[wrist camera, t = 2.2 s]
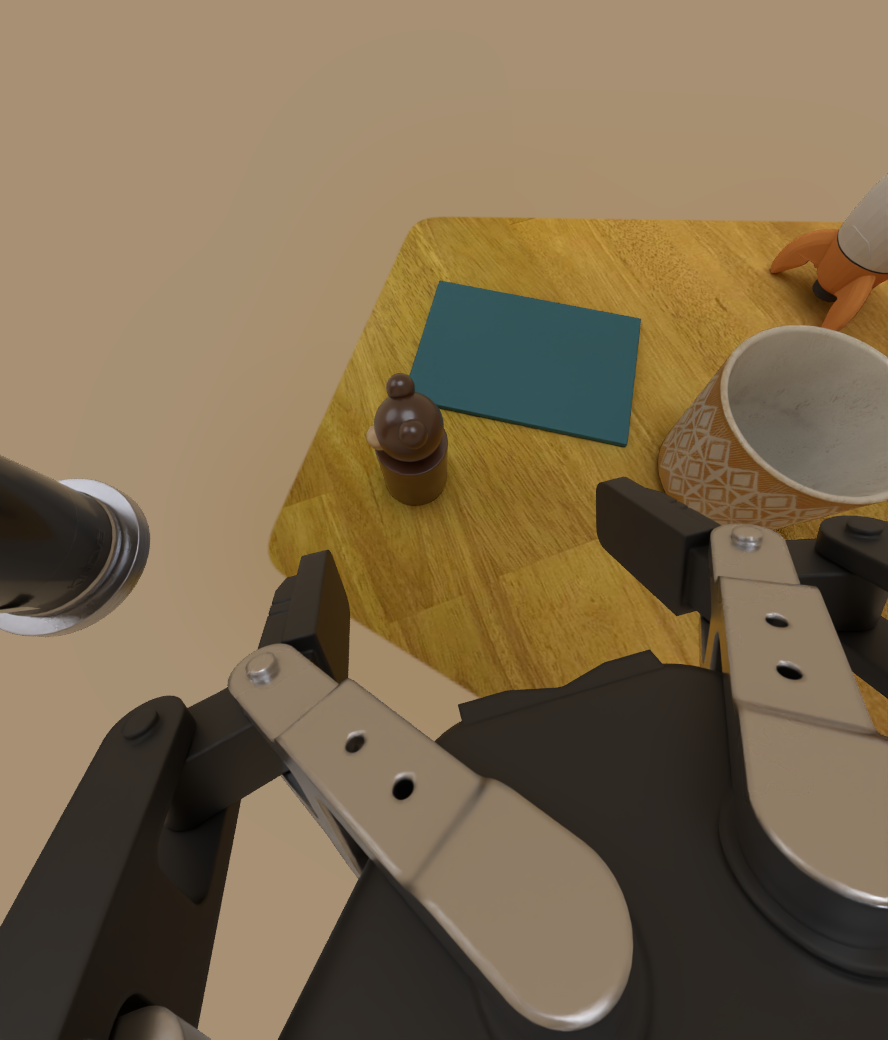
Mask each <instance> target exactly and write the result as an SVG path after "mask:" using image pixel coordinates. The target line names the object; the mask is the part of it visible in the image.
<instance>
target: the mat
mask: <svg viewBox="0 0 888 1040" xmlns="http://www.w3.org/2000/svg"><path fill="white" fill-rule="evenodd" d="M640 323H641V319H639V318H634V317H629V316H624V315H618V314H613V313H608V312H602V311H597V310H592V309H587V308H581V307H576V306H571V305H566V304H560V303H555V302H550V301H544V300H539V299H534V298H529V297H523V296H518V295H513V294H507V293H502V292H497V291H492V290H486V289H481V288H476V287H471V286H465V285H460V284H455V283H449V282H444V281H439V284H438V287H437V290H436V294H435V297H434V300H433V303H432V306H431V310H430V313H429V316H428V319H427V322H426V325H425V329H424V332H423V335H422V338H421V341H420V345H419V348H418V351H417V354H416V357H415V360H414V364H413V367H412V370H411V373H410V376H409V377H410V378H411V379H412V380H413V382H414V384H415V392H419V393H422V394H424V395H426V396H427V397H429V398H430V399H431V400H432V401H433V402H434V403H435V404H436V405H437V407H438V408H442V409H447V410H451V411H456V412H461V413H466V414H470V415H475V416H480V417H485V418H490V419H494V420H499V421H504V422H509V423H513V424H518V425H523V426H528V427H532V428H537V429H542V430H547V431H551V432H556V433H561V434H566V435H570V436H575V437H580V438H585V439H590V440H594V441H599V442H604V443H609V444H613V445H618V446H623V447H625V446H626V445H627V442H628V433H629V424H630V415H631V406H632V397H633V387H634V378H635V369H636V360H637V351H638V342H639V332H640Z"/></svg>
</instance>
